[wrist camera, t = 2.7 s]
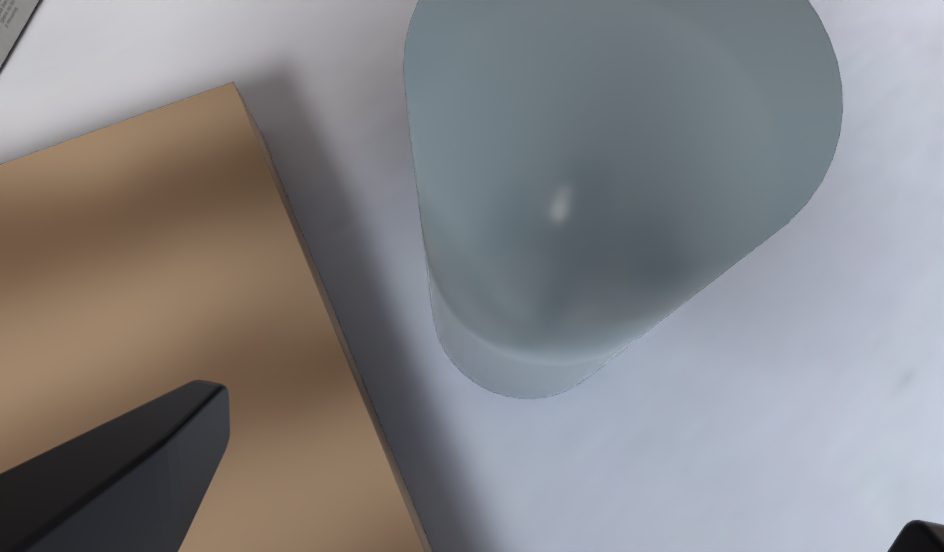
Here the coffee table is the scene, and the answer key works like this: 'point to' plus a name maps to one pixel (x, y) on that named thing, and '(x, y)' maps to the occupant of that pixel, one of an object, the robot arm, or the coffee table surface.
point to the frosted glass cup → (603, 165)
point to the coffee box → (13, 22)
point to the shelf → (192, 326)
